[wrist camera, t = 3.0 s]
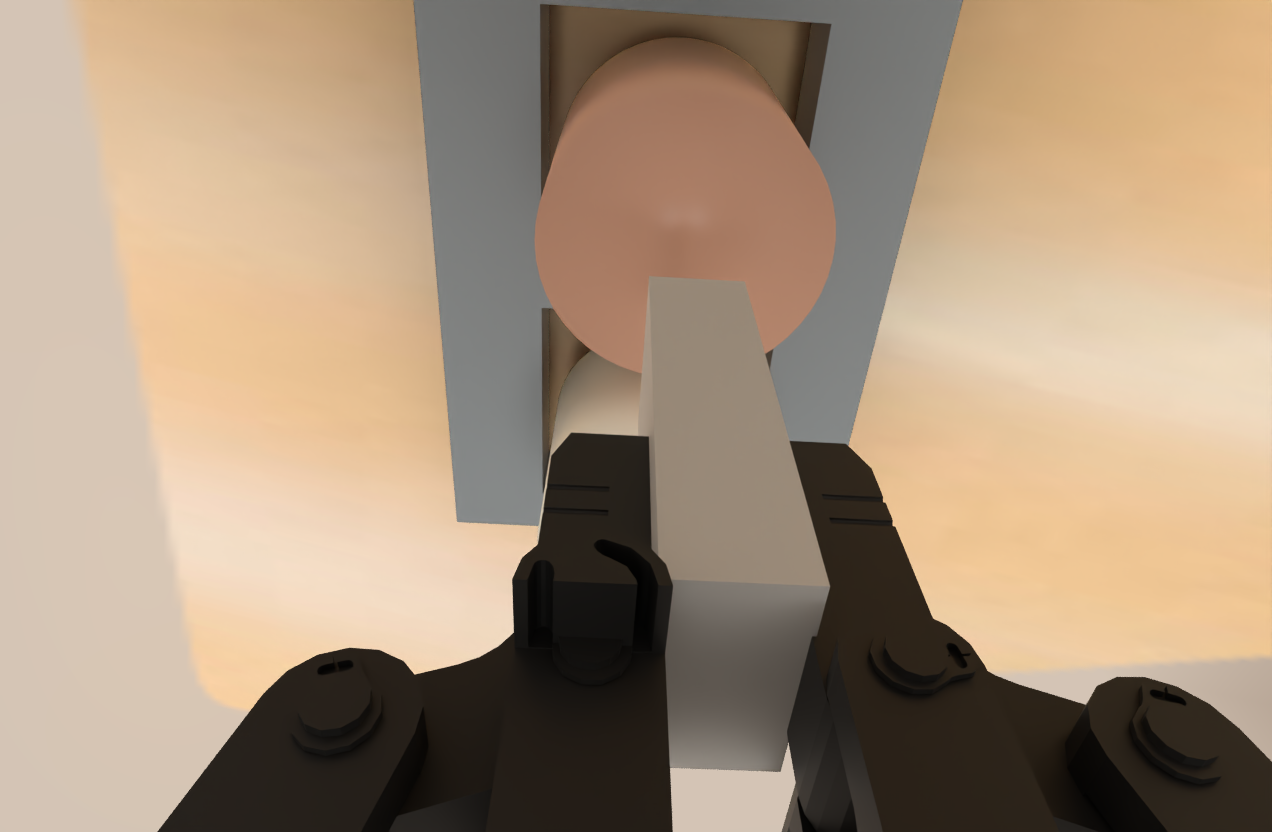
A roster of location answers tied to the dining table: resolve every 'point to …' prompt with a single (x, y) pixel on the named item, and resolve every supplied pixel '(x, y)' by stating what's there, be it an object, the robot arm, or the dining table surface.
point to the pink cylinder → (680, 196)
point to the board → (516, 176)
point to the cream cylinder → (596, 402)
